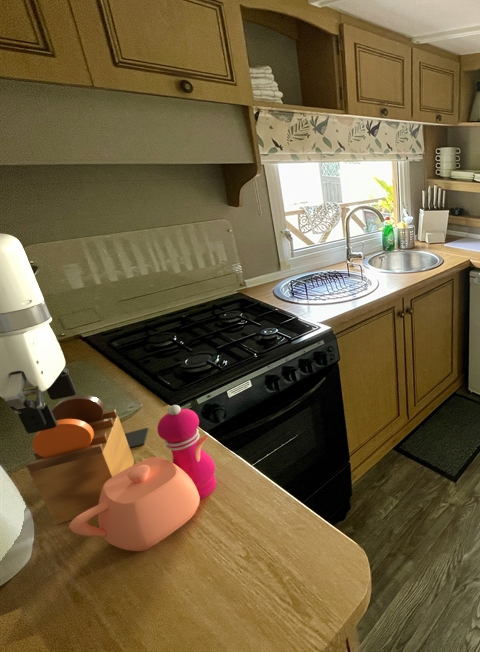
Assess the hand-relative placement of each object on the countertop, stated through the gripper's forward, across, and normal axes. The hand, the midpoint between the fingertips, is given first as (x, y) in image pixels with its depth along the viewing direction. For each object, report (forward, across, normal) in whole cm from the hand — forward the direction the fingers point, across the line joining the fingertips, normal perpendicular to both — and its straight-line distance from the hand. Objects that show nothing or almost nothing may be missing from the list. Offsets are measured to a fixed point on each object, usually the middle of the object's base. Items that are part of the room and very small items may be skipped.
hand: (54, 412), depth 61 cm
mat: (+21, -18, +2) cm, 28 cm away
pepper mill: (+22, +5, +16) cm, 27 cm away
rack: (+21, -4, 0) cm, 22 cm away
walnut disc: (+9, -8, 0) cm, 12 cm away
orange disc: (+9, 0, 0) cm, 9 cm away
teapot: (+22, +9, +11) cm, 26 cm away
